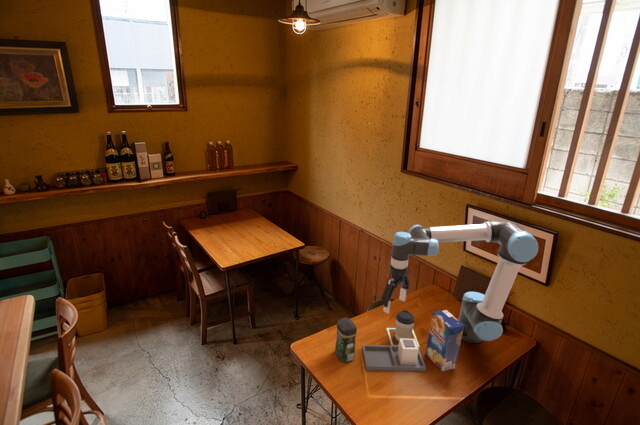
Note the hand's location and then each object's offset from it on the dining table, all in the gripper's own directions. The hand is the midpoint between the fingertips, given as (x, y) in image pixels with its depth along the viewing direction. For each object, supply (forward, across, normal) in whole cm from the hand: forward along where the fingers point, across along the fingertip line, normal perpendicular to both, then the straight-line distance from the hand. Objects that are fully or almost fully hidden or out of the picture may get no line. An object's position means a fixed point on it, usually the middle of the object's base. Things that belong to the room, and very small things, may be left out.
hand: (394, 306), depth 165 cm
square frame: (+23, -8, +2) cm, 24 cm away
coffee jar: (+22, +22, -11) cm, 33 cm away
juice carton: (+23, -7, +22) cm, 33 cm away
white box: (+22, +4, +11) cm, 25 cm away
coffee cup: (+23, -8, +2) cm, 24 cm away
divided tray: (+22, +8, +7) cm, 25 cm away
